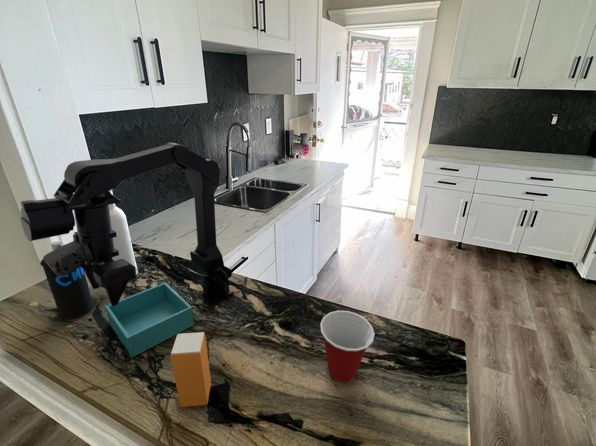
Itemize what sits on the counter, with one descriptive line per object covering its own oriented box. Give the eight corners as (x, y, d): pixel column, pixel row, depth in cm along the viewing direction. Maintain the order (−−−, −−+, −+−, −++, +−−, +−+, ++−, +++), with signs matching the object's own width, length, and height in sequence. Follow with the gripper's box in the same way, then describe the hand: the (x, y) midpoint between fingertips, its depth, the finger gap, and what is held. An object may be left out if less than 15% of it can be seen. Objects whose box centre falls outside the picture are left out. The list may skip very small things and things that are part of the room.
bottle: (105, 282, 97) (80, 188, 85) (118, 268, 104) (97, 180, 92) (131, 282, 97) (110, 188, 85) (142, 269, 104) (124, 181, 92)
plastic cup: (357, 403, 60) (363, 356, 56) (308, 377, 66) (310, 332, 61) (375, 365, 69) (382, 321, 64) (331, 345, 74) (334, 303, 69)
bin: (168, 298, 90) (165, 282, 87) (194, 324, 80) (192, 307, 78) (109, 324, 80) (104, 306, 77) (131, 357, 70) (127, 338, 68)
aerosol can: (51, 314, 83) (26, 247, 75) (81, 297, 90) (61, 233, 82) (72, 323, 80) (49, 253, 72) (101, 304, 87) (83, 239, 79)
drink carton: (186, 384, 64) (177, 333, 59) (211, 382, 64) (204, 331, 59) (180, 407, 59) (170, 354, 54) (207, 404, 60) (199, 351, 55)
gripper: (28, 224, 61) (44, 294, 66) (62, 254, 50) (77, 335, 55) (92, 213, 69) (102, 276, 74) (133, 236, 58) (141, 308, 63)
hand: (105, 296), depth 66 cm, fingers open, 9 cm apart
